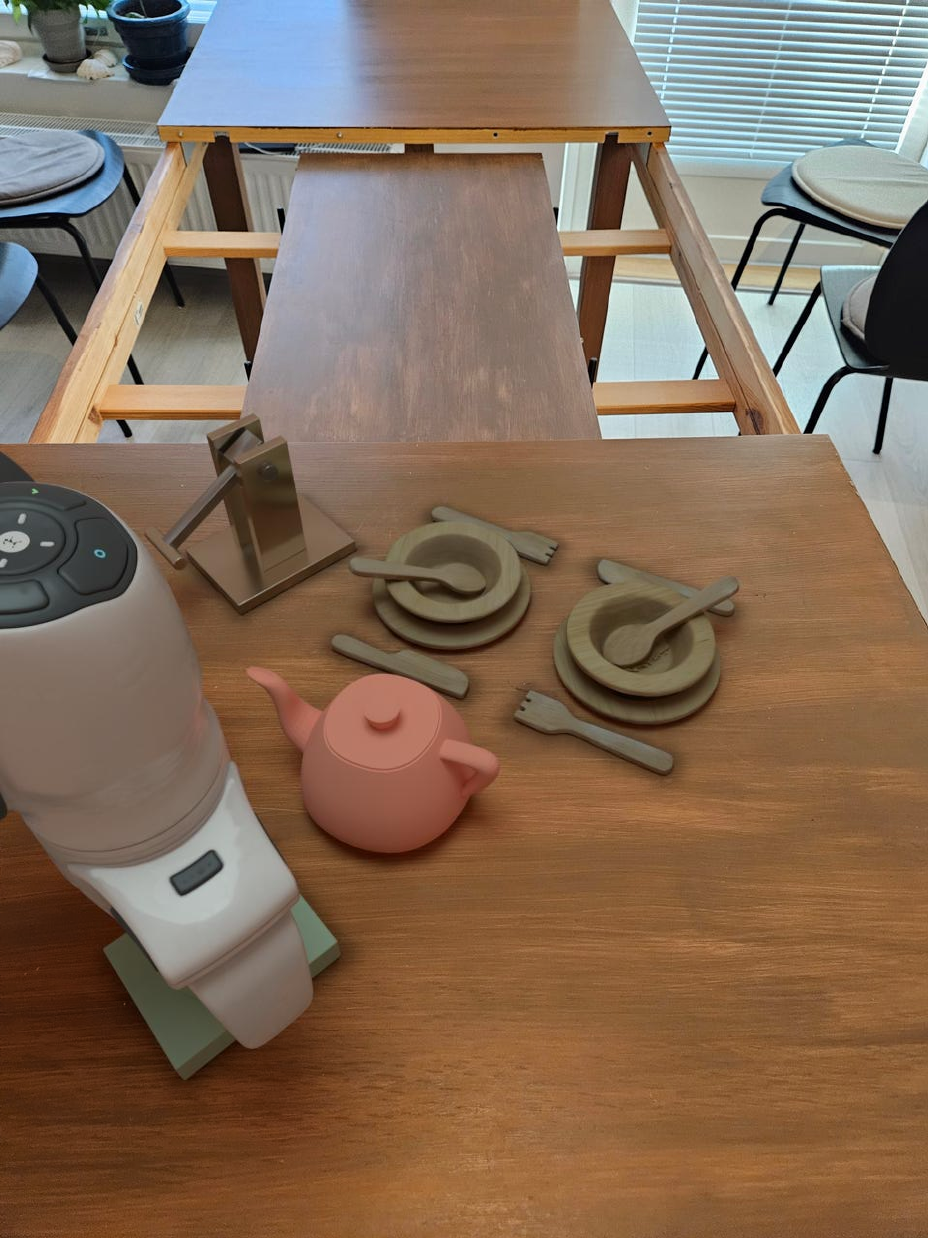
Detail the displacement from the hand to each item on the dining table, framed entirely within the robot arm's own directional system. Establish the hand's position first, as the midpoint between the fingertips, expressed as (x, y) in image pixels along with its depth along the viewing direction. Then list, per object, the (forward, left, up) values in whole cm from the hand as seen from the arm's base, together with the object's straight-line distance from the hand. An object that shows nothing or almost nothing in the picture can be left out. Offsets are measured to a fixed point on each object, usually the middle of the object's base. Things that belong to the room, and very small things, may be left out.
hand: (201, 920), depth 51 cm
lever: (+19, +29, +2) cm, 34 cm away
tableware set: (+34, +7, -6) cm, 36 cm away
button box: (0, 0, -6) cm, 6 cm away
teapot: (+15, +4, -6) cm, 17 cm away
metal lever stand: (+22, +29, -6) cm, 37 cm away
